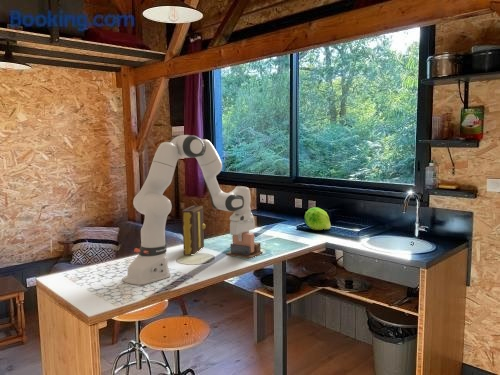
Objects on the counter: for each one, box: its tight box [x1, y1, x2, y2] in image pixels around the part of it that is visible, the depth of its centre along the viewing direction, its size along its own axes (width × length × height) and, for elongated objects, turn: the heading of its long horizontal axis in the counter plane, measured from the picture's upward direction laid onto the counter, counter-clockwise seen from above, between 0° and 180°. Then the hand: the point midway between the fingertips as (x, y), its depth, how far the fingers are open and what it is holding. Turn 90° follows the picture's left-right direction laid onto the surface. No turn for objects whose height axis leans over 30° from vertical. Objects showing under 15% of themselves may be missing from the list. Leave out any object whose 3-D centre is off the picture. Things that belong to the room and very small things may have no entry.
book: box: [181, 205, 206, 256], centre depth 238 cm, size 22×8×25 cm, turn 168°
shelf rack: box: [226, 241, 264, 259], centre depth 229 cm, size 12×16×6 cm
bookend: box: [230, 243, 250, 256], centre depth 225 cm, size 1×12×5 cm, turn 58°
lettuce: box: [304, 206, 332, 231], centre depth 290 cm, size 17×20×16 cm
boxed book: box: [232, 232, 255, 253], centre depth 227 cm, size 4×12×10 cm, turn 58°
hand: (243, 240), depth 227 cm, fingers closed on boxed book, 3 cm apart
